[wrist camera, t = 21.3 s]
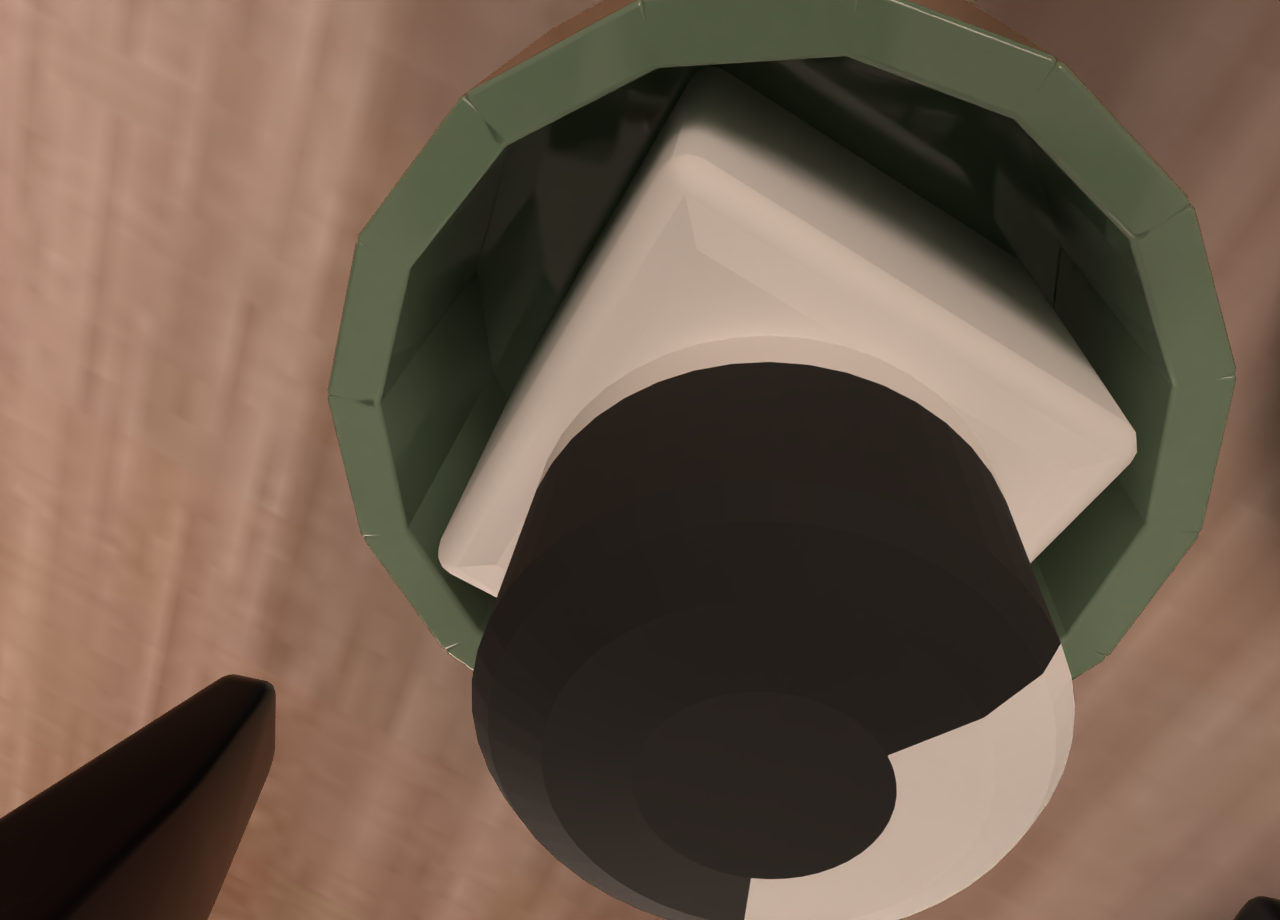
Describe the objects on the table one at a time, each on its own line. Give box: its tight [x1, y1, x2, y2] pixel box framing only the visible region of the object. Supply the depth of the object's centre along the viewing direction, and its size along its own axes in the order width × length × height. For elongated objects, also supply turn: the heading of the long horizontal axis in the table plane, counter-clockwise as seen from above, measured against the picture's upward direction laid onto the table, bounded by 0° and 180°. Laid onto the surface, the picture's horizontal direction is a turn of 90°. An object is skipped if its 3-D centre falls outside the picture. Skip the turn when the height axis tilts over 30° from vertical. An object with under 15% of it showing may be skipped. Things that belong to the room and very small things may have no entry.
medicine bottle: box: [438, 65, 1137, 920], centre depth 15 cm, size 7×7×12 cm
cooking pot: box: [328, 0, 1236, 680], centre depth 18 cm, size 13×18×6 cm
